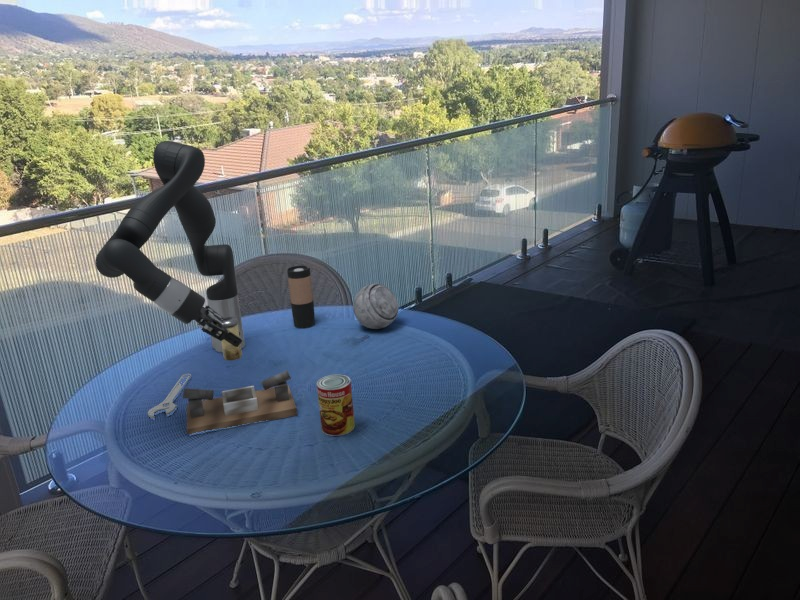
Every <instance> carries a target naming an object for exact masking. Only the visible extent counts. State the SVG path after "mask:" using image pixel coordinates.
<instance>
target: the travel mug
mask: <svg viewBox="0 0 800 600" xmlns="http://www.w3.org/2000/svg"><path fill="white" fill-rule="evenodd" d="M286 270H287V271H286V273H287V280H288V281H287V282H288V290H289V298H290V307H291V315H292V321H293V326H294V327H295V328H296V329H308V328H311V327H314V326H315V324H316V317H315V305H314V304H315V303H314V294H313V286H312V285H313V284H312V275H311V268H310V267H307V266H306V265H294V266H291V267H288V268H287V269H286Z"/></svg>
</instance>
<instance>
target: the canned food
mask: <svg viewBox="0 0 800 600" xmlns="http://www.w3.org/2000/svg"><path fill="white" fill-rule="evenodd" d="M316 390H317V391H316V392H317V400H318V410H319V417H320V426H321V432H322V433H323V434H325V435H326V436H331V437H338V436H344V435H347V434H349V433H351V432H352V431H354V429H355V423H356V422H355V414H354V402H353V392H352V380H351V378H350V377H349V376H348V375H344V374H330V375H329V374H327V375H326V376H323V377H321V378H319V379H318V380H317V381H316Z"/></svg>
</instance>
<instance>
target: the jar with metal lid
mask: <svg viewBox="0 0 800 600" xmlns="http://www.w3.org/2000/svg"><path fill="white" fill-rule="evenodd" d="M219 321H221V322H222V323H223V326H224V327H225V328H226V329H228V330H229V331H230V332H232V333H233V334H235V335H236V336H238V337H239V338H240V336H239V329H238V319H237V318H235V317H227V318H223V319H220V320H219ZM221 333H222V332H221V331H220V334H221ZM221 343H222V349H223V353H222V355H223V360H225V361H228V362H229V361H237V360H239V359H241V358H242V357H243V351H242V349H241V344H240V345H239V346H238V347H235V346H233V345H232V344H230V343H229V342H227V341H226V340H222V341H221Z"/></svg>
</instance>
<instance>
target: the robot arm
mask: <svg viewBox="0 0 800 600" xmlns="http://www.w3.org/2000/svg"><path fill="white" fill-rule="evenodd" d="M152 157H153V158H152V160H153V167H154V169H155V172H156V174H157V176H158V178H159V179H160V181H161V182H162V186H160V187H159V188H157V189H155V190H153V191H152V192H150V193H147V194H146V195H144V196H142V197H141V198H139V199H138V200H137V201H135V203H133V205H132V206H131V207H130V209H128V211H127V213H126V214H125V216H124V217H123V218H122V220H121V221H120V223H119V225H118V227H117V228H116V230H115V232H114V233H113V234H111V236H110V237H109V239H108V240H107V241H106V243H105V244H104V245H103V246H102V247H101V249H100V250H99V251H98V252H97V254H96V256H95V267H96V270H97V271H98V273H100V274H101V276H104V277H106V278H110V279H112V278H113V279H115V278H119V277H121V276H123V275H126V277H128V278H129V279H130V280H131V281H132V282H133V288H134V290H135V291H136V292H138V293H139V294H141V296H144V297H145V298H146V299H148V300H150V301H151V302H153V303H154V304H155V305H156V306H158V307H159V308H160V309H161V310H162V311H165V312H166V313H167V314H169V315H171V316H172V317H174V318H175V319H176V320H178V321H180V322H181V323H183V324H184V325H188V324H190V323H192V321H195V322H196V323H197V325H198V326H199V327H200V328H201V331H202V332H204V333H206V335H207V334H208V335H209V336H210V338H211V339H210V340H211V343H212V344H211V345H212V346H211V347H212V349H213V350H215V351H216V352H218V353H222V354H223V349H222V343H221V341H222V340H226V341H227V342H229V343H230V344H232V345H233V346H235V347H238V346H239V345H240V344H241V350H242V349H244V347H245V346H246V343H245V342H246V341H245V335H244V329H243V322H242V321H243V320H242V313H241V307H240V302H239V301H240V300H239V293H238V288H237V279H236V270H235V259H234V258H235V257H234V252H233V249H232V247H231V246H230V245H229V244H225V243H221V244H211V245H206V243H207V241H208V240H209V238H210V237H211V236H212V233H213V232H214V230H215V228H216V225H217V224H216V223H217V222H216V221H217V220H216V219H217V218H216V216H215V213H214V210H213V207H212V205H211V202H210V200H209V199H208V198H207V197H206V196H205V194H204V193H202V192H201V190H199V188H197V187H196V186H195V184H196V183H197V182H198V181H199V180H200V178H201V176H202V175H203V173H204V170H205V165H206V158H205V155H204V152H203V151H202V149H200V148H199V147H196V146H193V145H190V144H185V143H182V142H181V143H180V142H177V141H173V140H162V141H160V142H159V143H157V144H156V146H155V148H154V149H153V156H152ZM173 207H174V208H175V210H176V214H177V216H178V219H179V222H180V224H181V226H182V229H183V230H184V233H185V235H186V237H187V240H188V242H189V245H190V248H191V251H192V255H193V258H194V262H195V265H196V268H197V271H198V272H199V274H200V275H202V276H204V277H214V276H216V277H217V276H223V278H222V279H221V280H220V281H218V282H217V283H215V284H212V285H210V286H208V287H207V288H206V293H205V294H206V298H205V297H204V296H203V295H201V294H200V293H198V292H197V291H195V290H194V289H192V288H190V287H189V286H188V285H187V284H184V283H183V282H182V281H180V280H178V279H176V278H174V277H173V276H171V275H169V274H168V273H167V272H165V271H163V270H162V268H159V267H158V266H156V265H155V264H154V263H153V261H152V260H151V259H150V258H149V257H148V256H147V255H146V254H145V253H144V252H143V251H142V250H141V248H142V247H143V246H144V245H145V244H146V243H147V242H148V241H149V239H150V238H151V237H152V235H153V234H154V231H155V230H156V229H157V228H158V226H159V224H160V223H161V222H162V220H163V219H164V218H165V216H166V215H167V214H168V213H169V211H170V210H171V209H172V208H173ZM206 299H207V305H205V303H206ZM204 306H205V307H204ZM227 317H235V318H237V319H238V329H239V336H240V338H239V337H238V336H236V335H235V334H233V333H232V332H230V331H229V330H228V329H226V328H225V327H224V326H223V323H222V322H221V321H219V320H220V319H223V318H227ZM220 331H221V332H222V333H221V334H220Z"/></svg>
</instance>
